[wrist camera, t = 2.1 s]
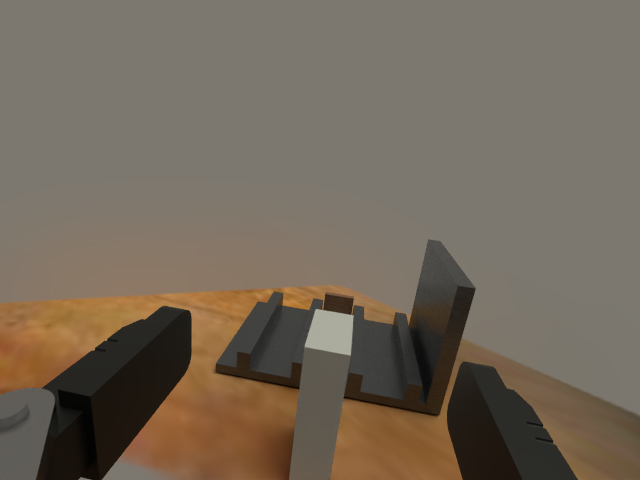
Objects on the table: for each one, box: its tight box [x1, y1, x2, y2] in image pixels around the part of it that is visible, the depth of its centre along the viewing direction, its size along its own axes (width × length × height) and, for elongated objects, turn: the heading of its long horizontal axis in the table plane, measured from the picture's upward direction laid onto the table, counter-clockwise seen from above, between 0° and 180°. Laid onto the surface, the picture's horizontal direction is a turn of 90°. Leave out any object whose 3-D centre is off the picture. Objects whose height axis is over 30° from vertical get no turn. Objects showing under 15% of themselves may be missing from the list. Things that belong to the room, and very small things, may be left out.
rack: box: [216, 240, 475, 415], centre depth 38 cm, size 23×15×14 cm, turn 82°
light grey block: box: [289, 309, 354, 480], centre depth 25 cm, size 3×5×12 cm, turn 172°
